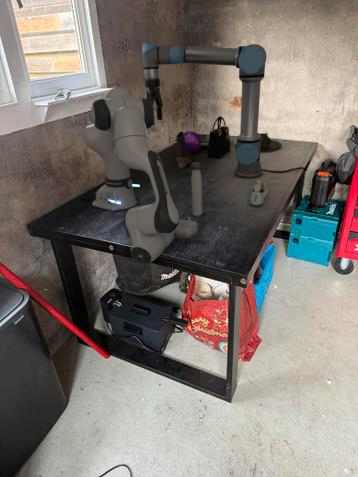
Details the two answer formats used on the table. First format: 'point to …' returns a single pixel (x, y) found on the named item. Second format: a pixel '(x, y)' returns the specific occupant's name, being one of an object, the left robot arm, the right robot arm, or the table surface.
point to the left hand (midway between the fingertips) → (178, 216)
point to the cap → (196, 166)
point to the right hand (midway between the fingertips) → (156, 122)
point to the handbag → (219, 140)
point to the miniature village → (268, 144)
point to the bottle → (196, 192)
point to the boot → (182, 151)
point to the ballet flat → (258, 193)
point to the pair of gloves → (206, 142)
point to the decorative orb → (192, 141)
